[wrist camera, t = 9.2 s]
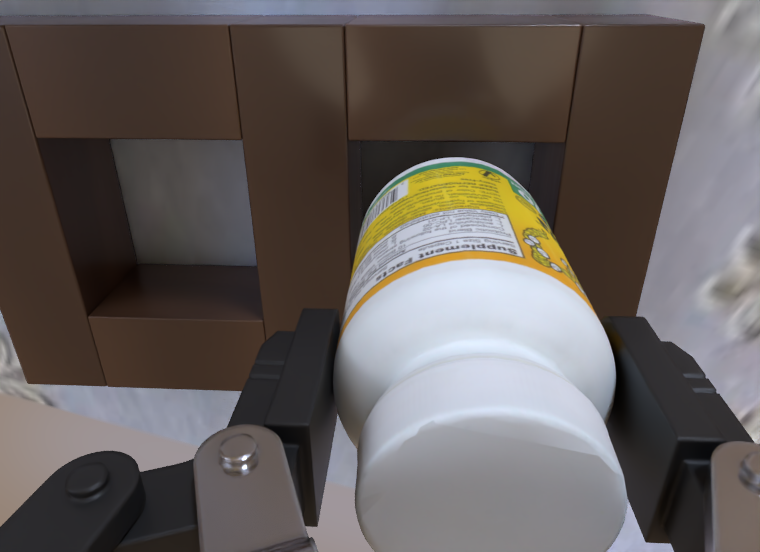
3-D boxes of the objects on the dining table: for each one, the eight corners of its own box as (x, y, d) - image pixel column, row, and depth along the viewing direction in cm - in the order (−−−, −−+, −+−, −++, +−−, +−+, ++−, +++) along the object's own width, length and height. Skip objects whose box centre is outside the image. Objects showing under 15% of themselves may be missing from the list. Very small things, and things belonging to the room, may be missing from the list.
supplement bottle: (347, 165, 16) (269, 382, 7) (542, 140, 15) (702, 345, 7) (375, 327, 18) (341, 629, 10) (545, 311, 18) (664, 618, 9)
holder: (83, 325, 24) (26, 384, 21) (-7, 15, 19) (-106, 24, 15) (585, 338, 23) (615, 403, 20) (648, 14, 18) (707, 23, 14)
